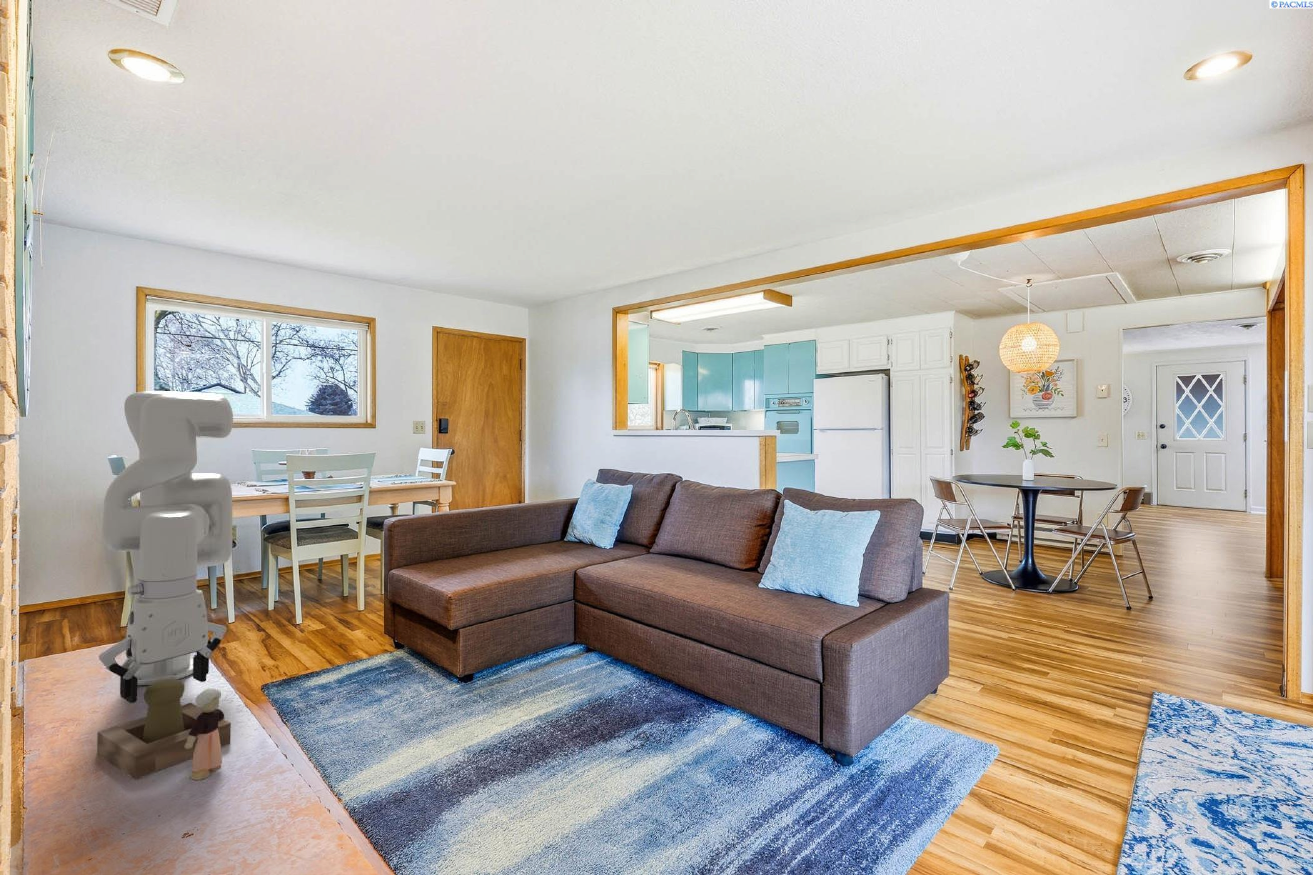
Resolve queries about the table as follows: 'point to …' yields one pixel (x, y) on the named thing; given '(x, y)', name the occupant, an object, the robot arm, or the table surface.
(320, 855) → the table surface
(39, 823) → the table surface
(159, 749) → the socket block
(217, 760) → the grandmother figurine
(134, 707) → the table surface
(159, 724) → the cork
